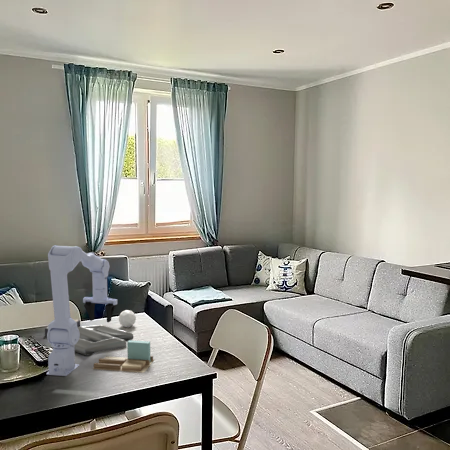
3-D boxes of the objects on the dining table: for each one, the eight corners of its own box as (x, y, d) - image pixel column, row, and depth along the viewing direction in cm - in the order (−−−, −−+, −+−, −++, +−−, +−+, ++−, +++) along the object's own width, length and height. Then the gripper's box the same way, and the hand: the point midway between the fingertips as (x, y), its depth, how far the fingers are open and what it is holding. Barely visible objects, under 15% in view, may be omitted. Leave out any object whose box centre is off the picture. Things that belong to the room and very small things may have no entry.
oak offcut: (140, 368, 162) (140, 366, 162) (121, 367, 164) (121, 365, 163) (145, 363, 167) (145, 361, 167) (126, 362, 168) (126, 359, 168)
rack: (144, 375, 161) (144, 368, 161) (92, 371, 164) (92, 364, 164) (154, 362, 173) (154, 355, 173) (106, 358, 176) (106, 352, 176)
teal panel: (148, 363, 169) (148, 343, 169) (127, 362, 171) (127, 342, 170) (150, 361, 171) (150, 341, 171) (129, 360, 172) (129, 340, 172)
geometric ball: (130, 333, 214) (132, 322, 209) (114, 326, 215) (116, 315, 210) (137, 321, 220) (139, 310, 215) (122, 314, 221) (123, 304, 216)
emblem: (48, 342, 180) (77, 320, 207) (48, 355, 180) (78, 332, 208) (118, 345, 177) (139, 323, 205) (119, 358, 177) (139, 335, 205)
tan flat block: (140, 371, 162) (140, 368, 162) (121, 369, 164) (121, 367, 164) (145, 365, 167) (145, 363, 167) (126, 364, 168) (126, 362, 168)
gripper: (120, 287, 191) (121, 319, 193) (89, 284, 195) (89, 316, 196) (112, 290, 185) (113, 324, 186) (79, 288, 188) (80, 321, 189)
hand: (100, 320), depth 191 cm, fingers open, 7 cm apart
